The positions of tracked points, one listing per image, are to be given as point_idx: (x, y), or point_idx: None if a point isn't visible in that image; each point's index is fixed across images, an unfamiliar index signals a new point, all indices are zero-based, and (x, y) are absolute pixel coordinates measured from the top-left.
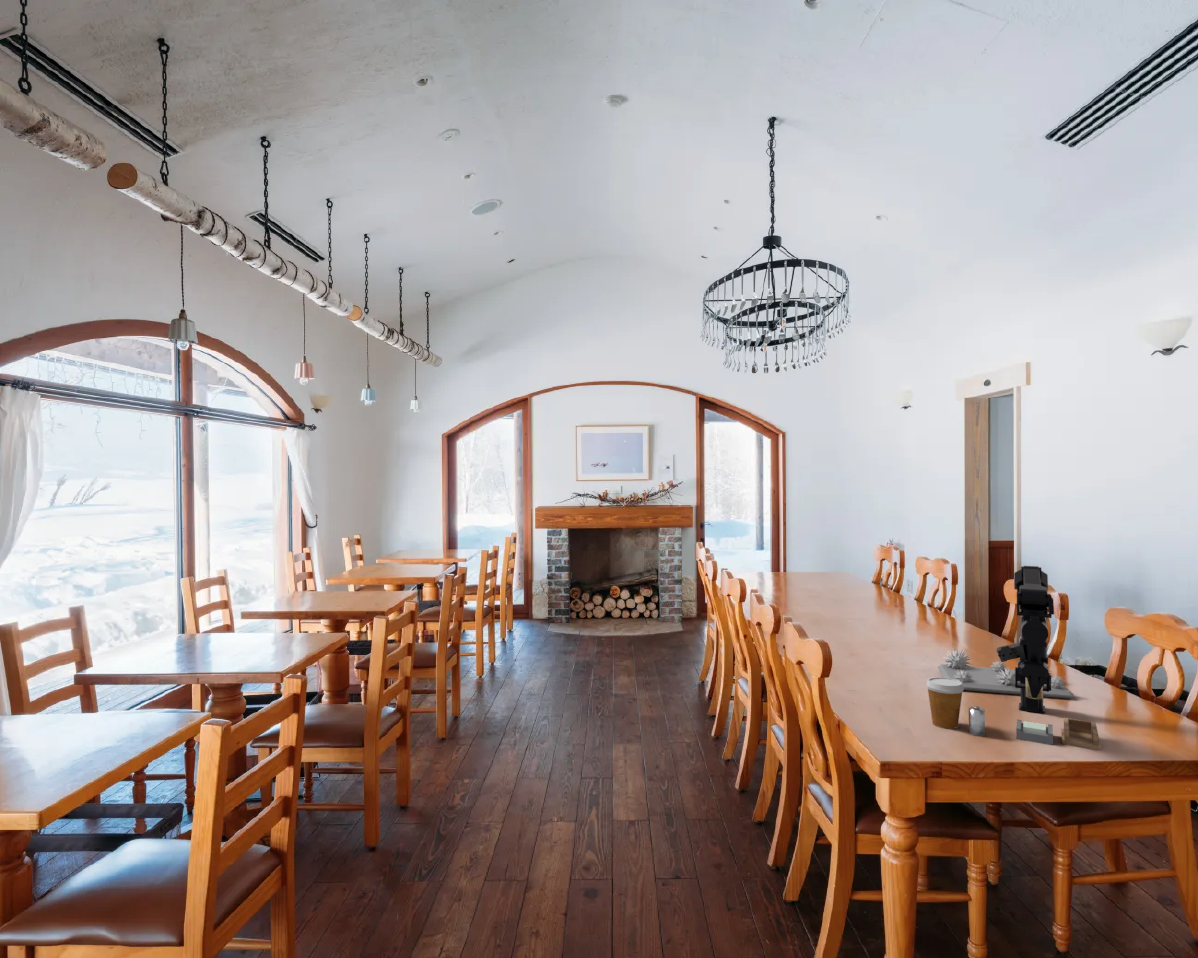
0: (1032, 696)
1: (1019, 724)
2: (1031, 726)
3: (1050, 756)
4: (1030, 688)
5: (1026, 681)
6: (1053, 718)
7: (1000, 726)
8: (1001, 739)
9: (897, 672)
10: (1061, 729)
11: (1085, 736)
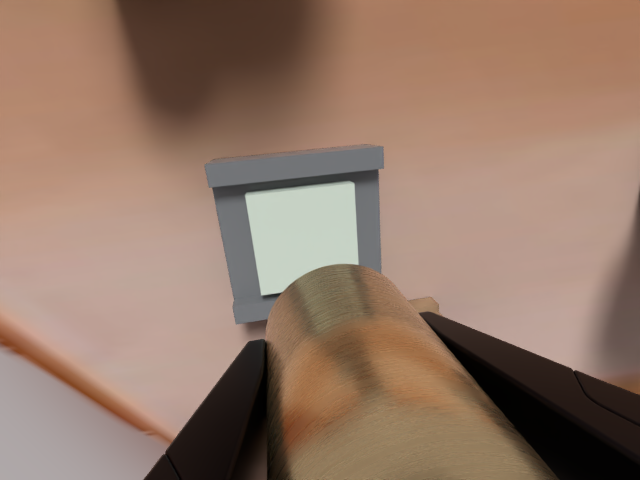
0: (244, 351)
1: (288, 170)
2: (279, 231)
3: (69, 314)
4: (193, 421)
5: (330, 408)
6: (593, 248)
7: (370, 60)
8: (145, 93)
9: None
10: (428, 304)
11: None
